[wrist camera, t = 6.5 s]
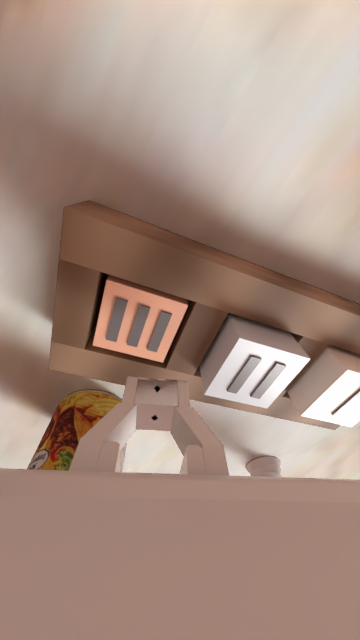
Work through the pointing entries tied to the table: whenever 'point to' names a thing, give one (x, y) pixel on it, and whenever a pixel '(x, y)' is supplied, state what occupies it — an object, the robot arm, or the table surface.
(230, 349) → the tile two
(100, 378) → the button board
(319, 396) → the tile one
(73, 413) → the canned food
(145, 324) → the tile three
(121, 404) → the robot arm
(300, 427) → the table surface
